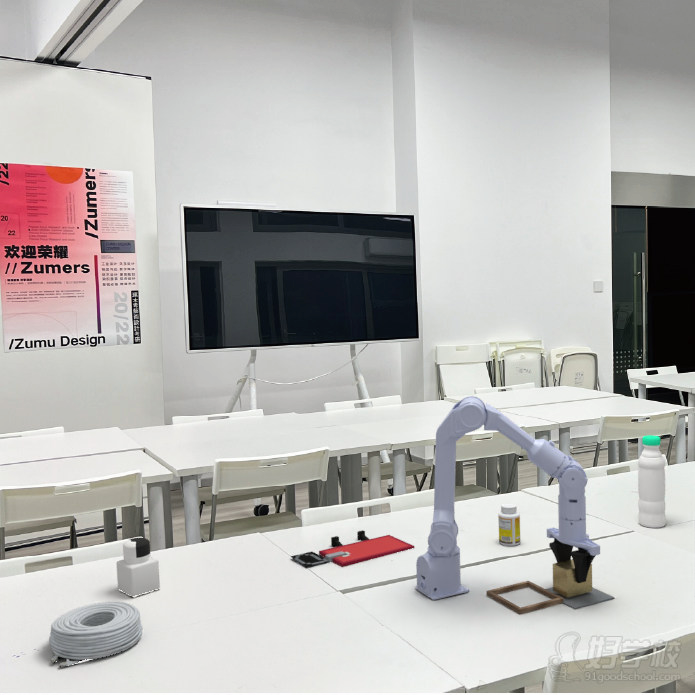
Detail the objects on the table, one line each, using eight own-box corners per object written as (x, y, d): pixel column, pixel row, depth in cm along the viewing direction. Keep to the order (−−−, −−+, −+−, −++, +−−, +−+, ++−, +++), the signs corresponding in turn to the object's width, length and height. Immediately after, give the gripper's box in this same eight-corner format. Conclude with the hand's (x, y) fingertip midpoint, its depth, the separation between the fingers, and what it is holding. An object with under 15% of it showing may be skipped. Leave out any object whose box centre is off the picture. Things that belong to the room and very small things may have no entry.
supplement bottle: (516, 539, 205) (515, 501, 204) (523, 545, 199) (522, 507, 198) (496, 540, 204) (495, 503, 203) (502, 547, 198) (501, 508, 198)
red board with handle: (286, 557, 197) (316, 575, 184) (286, 547, 196) (316, 564, 184) (381, 536, 213) (414, 551, 200) (381, 526, 213) (414, 540, 200)
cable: (51, 673, 140) (49, 641, 139) (48, 635, 156) (46, 606, 155) (148, 653, 146) (146, 622, 146) (136, 618, 163) (134, 591, 162)
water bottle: (667, 522, 214) (667, 434, 212) (663, 529, 208) (662, 439, 206) (641, 519, 218) (640, 433, 216) (635, 526, 212) (635, 437, 210)
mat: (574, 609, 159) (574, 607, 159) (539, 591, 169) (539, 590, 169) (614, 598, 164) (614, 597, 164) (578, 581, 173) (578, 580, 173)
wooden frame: (520, 614, 157) (519, 609, 157) (486, 595, 168) (486, 590, 168) (563, 602, 162) (563, 598, 162) (528, 584, 173) (528, 580, 173)
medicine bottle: (144, 582, 183) (142, 533, 182) (160, 589, 178) (157, 539, 177) (117, 591, 178) (114, 540, 177) (132, 599, 173) (129, 547, 172)
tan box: (567, 597, 163) (566, 570, 162) (553, 590, 167) (552, 563, 166) (592, 591, 166) (591, 564, 165) (577, 584, 170) (577, 558, 169)
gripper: (610, 522, 160) (611, 585, 161) (563, 506, 173) (564, 564, 174) (585, 527, 157) (586, 592, 158) (538, 511, 170) (539, 570, 171)
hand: (573, 578), depth 166 cm, fingers closed on tan box, 4 cm apart
